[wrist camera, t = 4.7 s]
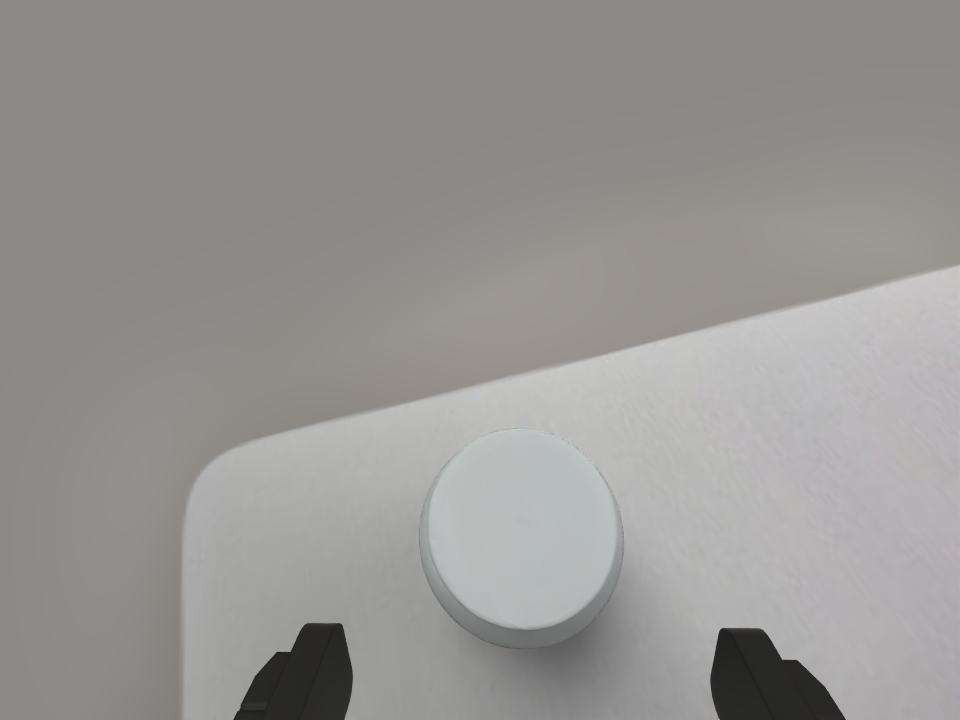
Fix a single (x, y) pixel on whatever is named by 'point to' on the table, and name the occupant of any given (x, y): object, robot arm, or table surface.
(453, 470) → the pill bottle
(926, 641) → the table surface
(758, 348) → the table surface
